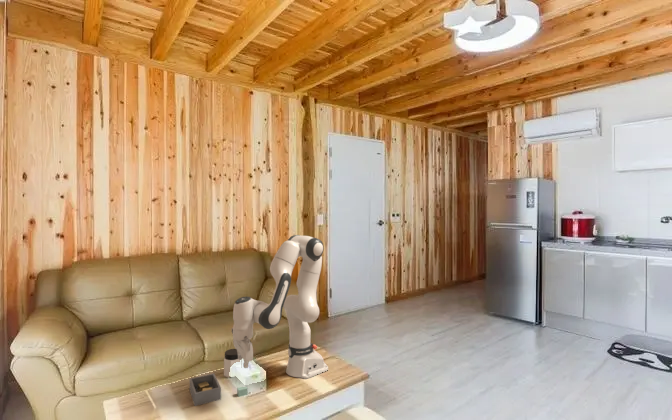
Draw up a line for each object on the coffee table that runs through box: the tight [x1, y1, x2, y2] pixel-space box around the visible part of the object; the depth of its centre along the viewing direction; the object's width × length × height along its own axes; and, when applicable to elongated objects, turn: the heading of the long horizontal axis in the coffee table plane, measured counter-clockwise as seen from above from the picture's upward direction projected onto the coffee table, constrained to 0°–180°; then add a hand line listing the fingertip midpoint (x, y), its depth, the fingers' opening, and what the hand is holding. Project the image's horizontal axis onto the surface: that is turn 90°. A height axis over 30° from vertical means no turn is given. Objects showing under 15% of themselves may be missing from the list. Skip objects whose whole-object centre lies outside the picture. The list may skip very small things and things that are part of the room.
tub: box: [188, 373, 222, 407], centre depth 161 cm, size 11×15×6 cm
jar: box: [223, 348, 240, 378], centre depth 181 cm, size 9×8×12 cm
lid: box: [236, 386, 248, 398], centre depth 167 cm, size 12×16×4 cm
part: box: [198, 382, 209, 392], centre depth 164 cm, size 4×4×3 cm
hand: (242, 363), depth 162 cm, fingers open, 8 cm apart
